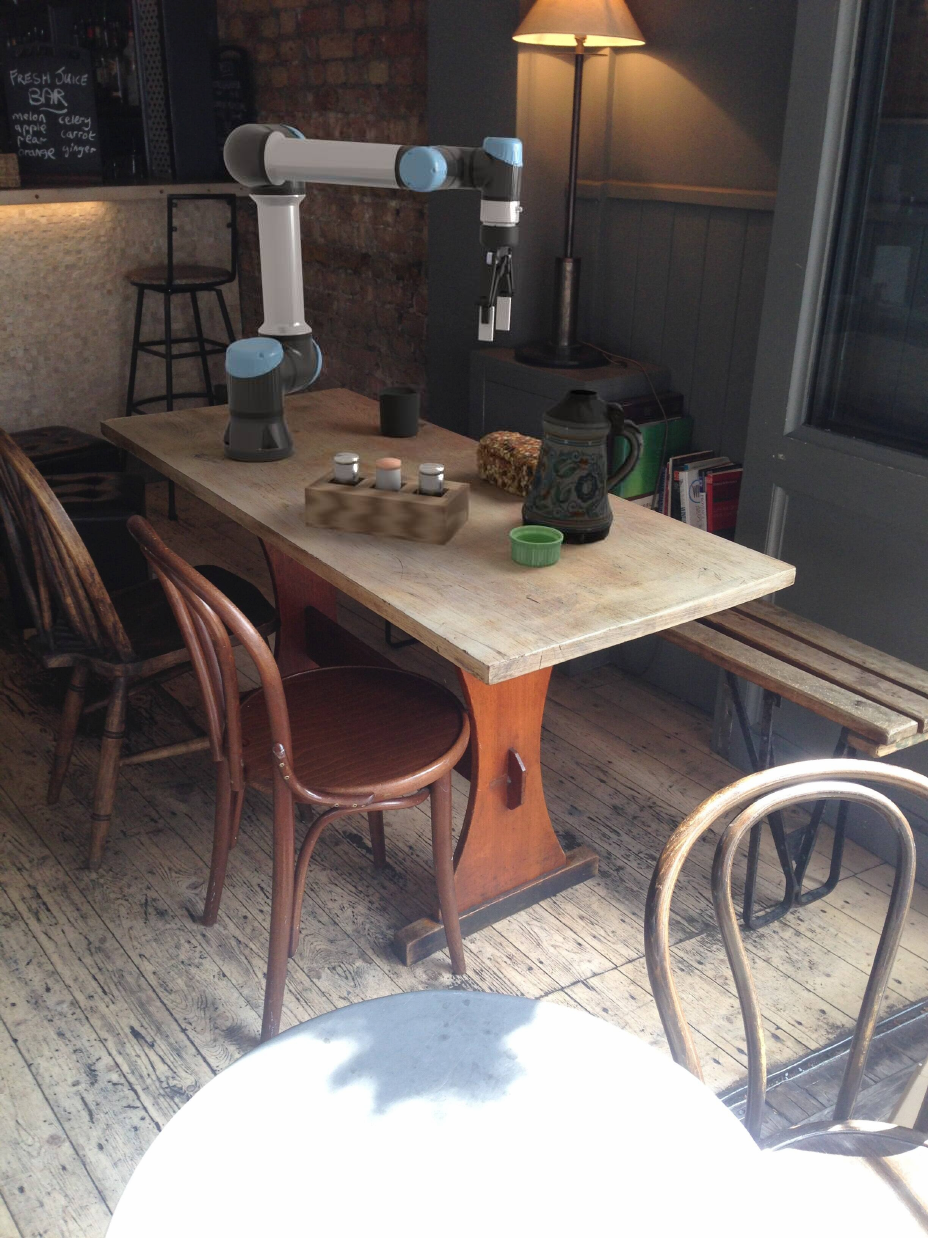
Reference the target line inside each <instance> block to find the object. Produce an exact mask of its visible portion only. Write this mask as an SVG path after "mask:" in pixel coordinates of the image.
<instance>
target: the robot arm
mask: <svg viewBox="0 0 928 1238" xmlns="http://www.w3.org/2000/svg"><path fill="white" fill-rule="evenodd" d="M223 160H224V164H225V166H226V169H227V171H228V172H229V175H231V177H232V178H234V180H235V181H236V182H238V183H240V184H241V185H244V186H246V187H248V193H249V194H248V195H249V197H250V198H251V199H252V200H253V201H254V202H255V203H256V205H257V220H258V237H259V252H260V268H261V270H260V271H261V284H262V285H261V286H262V301H263V314H264V315H263V316H264V318H263V319H264V321H263V324H262V325H261V326H260V327H259V328H258V330H257V332H258V335H257V336H258V337H250V338H242V339H240V340H239V339H238V340H236V341H234V342H233V343H230V344H229V346H228V347H227V348H226V352H225V362H224V363H225V365H224V366H225V367H224V368H225V371H226V388H227V389H226V390H227V402H228V422H227V424H226V427H225V428H226V429H225V432H224V435H223V439H222V445H221V446H222V447H221V448H222V454H223V456H225V457H226V458H228V459H231V460H236V461H242V462H252V463H253V462H259V463H260V462H271V461H278V460H283V459H286V458H289V457H291V456H293V454H294V452H295V448H294V446H295V445H294V444H295V443H294V440H293V437H292V434H291V431H290V428H289V425H288V423H287V420H286V417H285V396H286V395H289V394H292V393H293V392H298V391H300V390H303V389H305V388H307V387H308V386H309V385H310V384H312V383H313V382H314V381H315V380H316V379H317V378H318V376H319V374H320V373H321V370H322V364H323V359H322V358H323V357H322V353H321V349H320V347H319V344H317V343H316V342H315V340H314V339H313V330H312V328H311V326H310V325H308V323H306V321H305V308H304V307H305V306H304V305H305V303H304V281H303V266H302V265H303V264H302V245H301V244H302V243H301V225H300V223H301V222H300V203H301V202H302V201H303V200H304V199H305V197H306V195H307V194H306V183H307V182H308V183H320V184H334V185H345V186H362V187H374V188H386V189H387V188H388V189H389V188H390V189H403V190H411V191H414V192H419V193H430V192H432V191H440V190H450V189H451V190H452V189H456V190H474V191H478V190H479V191H481V197H480V198H481V199H480V214H479V215H480V218H479V220H480V221H481V222H482V223H481V225H480V226H479V243H480V244H481V245H482V246H488V252H483V254H482V267H481V273H480V277H479V278H480V279H479V286H478V292H477V299H476V300H475V307H479V321H478V341H487V342H493V340H494V339H493V338H494V321H495V330H498V331H499V330H500V331H510V323H511V319H510V318H511V303H512V301H511V300H512V298H515V297H516V291H515V285H514V270H513V247H516V246H517V245H518V243H519V231H520V230H519V227H518V225H516V224H517V223H518V222H520V213H522V211H523V207H522V206H520V205H521V204H520V201H521V189H522V175H523V174H522V172H523V164H524V163H523V143H522V141H521V140H520V139H519V138H516V137H515V138H513V137H494V136H493V137H492V136H491V137H490V136H487V137H485V138H484V140H483V144H482V147H466V146H465V147H464V146H450V145H449V146H448V145H444V144H443V145H441V144H440V145H429V146H425V145H403V144H390V143H376V142H375V143H374V142H359V141H357V142H355V141H342V140H327V139H326V140H325V139H311V138H306V136H305V135H304V134H303V133H301V132H300V131H299V130H297V129H296V128H294V127H292V126H289V125H284V124H278V123H273V124H271V123H270V124H267V123H266V124H260V123H246V124H243V125H240V126H237V127H236V128H235V129H234V130H232V131H231V133H229V135H228V136H227V138H226V141H225V143H224V146H223ZM497 291H498V296H496V292H497ZM495 297H496V317H495V306H493V305H494V300H495ZM494 319H495V320H494Z"/></svg>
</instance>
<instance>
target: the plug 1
mask: <svg viewBox="0 0 928 1238" xmlns="http://www.w3.org/2000/svg"><path fill="white" fill-rule="evenodd" d="M333 469H334V484H340V485H347V486H356V485H358V484H359V470H360V456H359V454H356V453H353V452H338V453H336V454H334V455H333Z"/></svg>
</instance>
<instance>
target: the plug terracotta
mask: <svg viewBox="0 0 928 1238" xmlns="http://www.w3.org/2000/svg"><path fill="white" fill-rule="evenodd" d="M375 472H376V489H378V490H386V491H394V492H398V491H399V490H400V489H401V475H402V460H400V459H398V458H396V457H395V458H394V457H383V458H382V457H381V458H378V459H375Z"/></svg>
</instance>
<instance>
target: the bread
mask: <svg viewBox="0 0 928 1238" xmlns="http://www.w3.org/2000/svg"><path fill="white" fill-rule="evenodd" d="M541 444H542V440H541V439H536V438H535V437H531V436H528V435H526V436H525V435H522V434H520V433H519V432H516V431H513V432H510V431H508V430H505V431H503V430H498V431H493V432H490V433H487V434H486V435H484V436H483V437H482V438H481V439H479V444H478V446H477V449H476V456H477V457H476V462H477V463H476V467H477V473H478V477H479V478H481V480H483V481H484V480H487V481H488V483H490V484H492V485H494V486H495V487H498V488H500V489H502V490H505V491H507V492H509V493H510V494H513V495H517V496H518V495H519V496H520V497H524V498H525V499H526V498H527V496H528V493H529V491H530V488H531V485H532V481H533V478H534V474H535V470H536V466H537V462H538V457H539V453H540V448H541Z"/></svg>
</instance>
